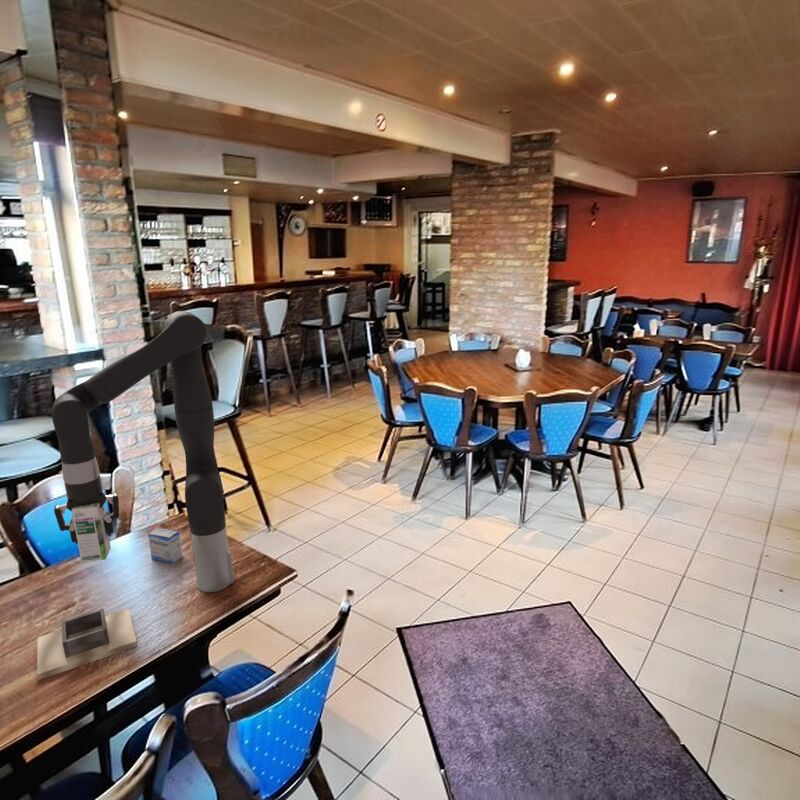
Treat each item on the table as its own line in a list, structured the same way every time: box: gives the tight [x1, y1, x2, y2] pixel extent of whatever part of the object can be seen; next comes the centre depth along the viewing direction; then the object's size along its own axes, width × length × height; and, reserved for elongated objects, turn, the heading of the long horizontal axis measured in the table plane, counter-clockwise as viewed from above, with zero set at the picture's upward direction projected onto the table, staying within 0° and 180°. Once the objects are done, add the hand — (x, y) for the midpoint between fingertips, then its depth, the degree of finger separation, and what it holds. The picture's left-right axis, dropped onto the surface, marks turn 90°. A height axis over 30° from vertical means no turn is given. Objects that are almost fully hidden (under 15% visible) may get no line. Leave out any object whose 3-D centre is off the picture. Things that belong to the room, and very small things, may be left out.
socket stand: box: [36, 608, 138, 681], centre depth 133 cm, size 20×14×6 cm
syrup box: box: [71, 502, 111, 564], centre depth 138 cm, size 6×6×14 cm
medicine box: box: [148, 527, 183, 564], centre depth 169 cm, size 8×4×9 cm, turn 73°
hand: (93, 538), depth 139 cm, fingers closed on syrup box, 6 cm apart
